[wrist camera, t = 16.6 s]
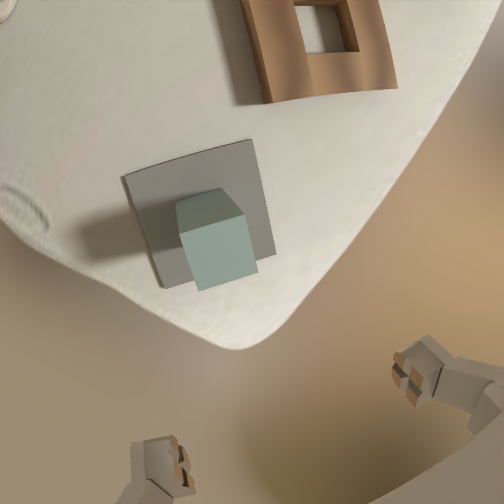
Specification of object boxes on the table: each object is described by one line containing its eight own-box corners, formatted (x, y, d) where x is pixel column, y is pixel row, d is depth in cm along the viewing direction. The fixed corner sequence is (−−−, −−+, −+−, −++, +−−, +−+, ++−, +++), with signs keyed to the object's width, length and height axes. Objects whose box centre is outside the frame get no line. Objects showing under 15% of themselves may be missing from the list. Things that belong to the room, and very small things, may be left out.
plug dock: (264, 104, 27) (273, 102, 25) (233, -24, 21) (239, -34, 19) (383, 89, 29) (397, 88, 27) (356, -22, 23) (368, -29, 21)
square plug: (188, 245, 30) (198, 291, 22) (175, 201, 29) (179, 234, 21) (233, 231, 31) (258, 272, 23) (222, 187, 29) (244, 214, 21)
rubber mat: (164, 287, 32) (164, 289, 32) (125, 175, 27) (124, 176, 26) (275, 252, 34) (276, 254, 33) (251, 138, 28) (252, 139, 28)
